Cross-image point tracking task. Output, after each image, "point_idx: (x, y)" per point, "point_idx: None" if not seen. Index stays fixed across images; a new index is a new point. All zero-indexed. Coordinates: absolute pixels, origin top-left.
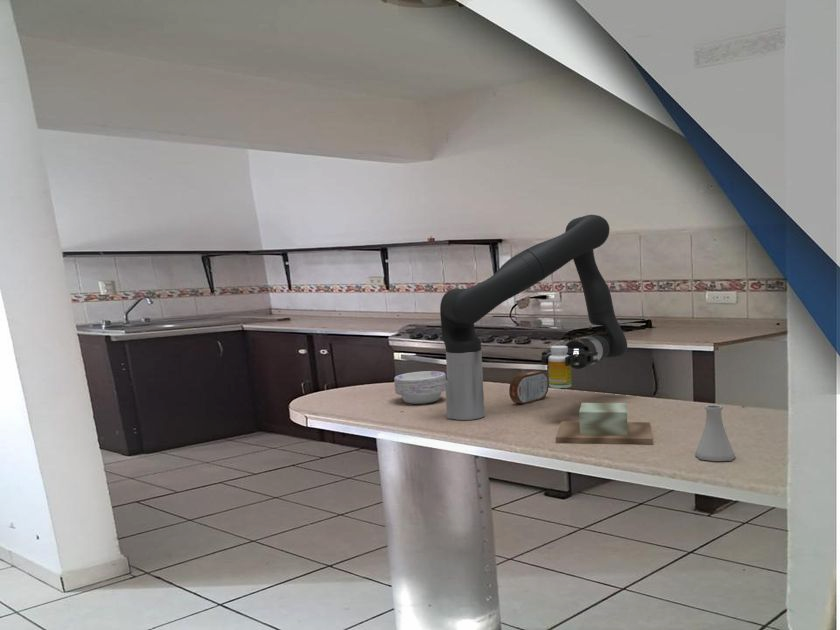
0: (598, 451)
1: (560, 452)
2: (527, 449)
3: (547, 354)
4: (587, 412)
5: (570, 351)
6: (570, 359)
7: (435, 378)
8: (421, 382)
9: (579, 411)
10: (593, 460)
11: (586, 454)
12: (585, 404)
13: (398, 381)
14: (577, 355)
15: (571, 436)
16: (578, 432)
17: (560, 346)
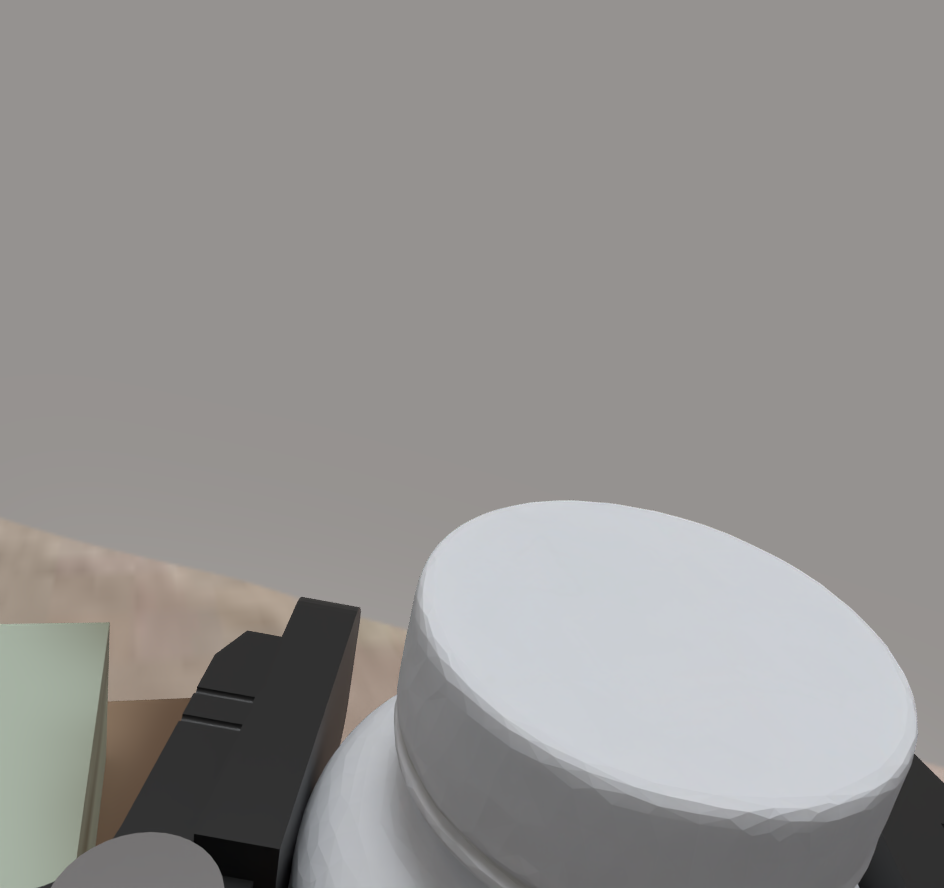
0: (7, 623)
1: (212, 600)
2: (381, 623)
3: (934, 853)
4: (40, 625)
5: None
6: (253, 649)
7: None
8: None
9: (105, 636)
10: (53, 534)
11: (80, 587)
12: (22, 868)
13: None
14: (84, 871)
15: (166, 717)
16: (115, 807)
17: (644, 637)
